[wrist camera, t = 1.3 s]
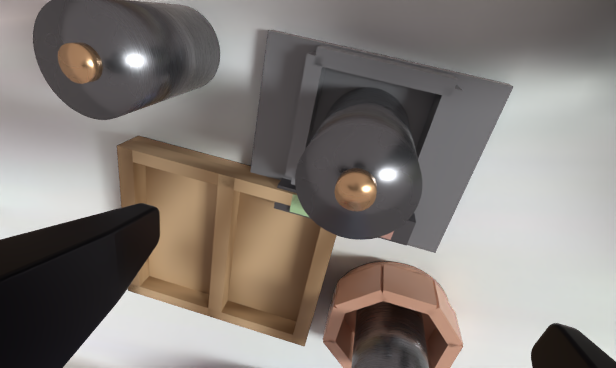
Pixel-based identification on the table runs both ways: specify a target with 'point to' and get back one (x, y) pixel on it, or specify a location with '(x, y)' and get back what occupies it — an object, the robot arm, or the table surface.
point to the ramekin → (400, 291)
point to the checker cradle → (410, 93)
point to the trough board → (225, 240)
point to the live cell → (361, 167)
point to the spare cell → (122, 53)
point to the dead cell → (389, 338)
